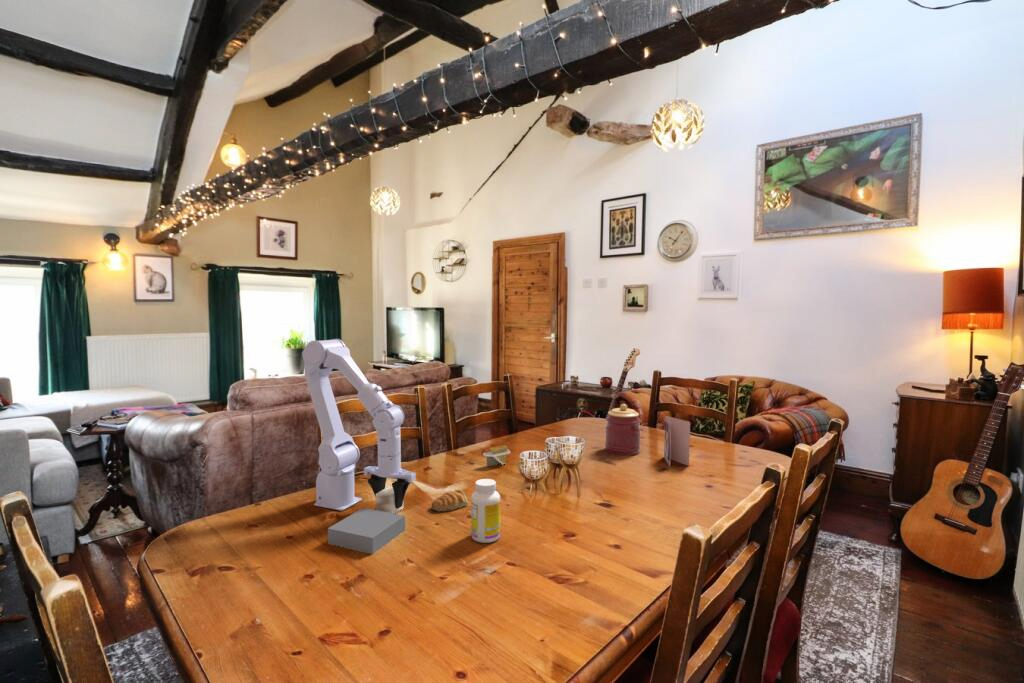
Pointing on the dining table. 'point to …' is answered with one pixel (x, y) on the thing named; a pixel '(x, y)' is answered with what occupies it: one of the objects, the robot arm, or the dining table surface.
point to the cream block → (387, 501)
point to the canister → (623, 431)
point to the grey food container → (497, 455)
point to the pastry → (450, 501)
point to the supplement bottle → (485, 512)
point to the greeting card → (676, 440)
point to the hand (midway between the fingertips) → (389, 505)
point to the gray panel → (366, 530)
